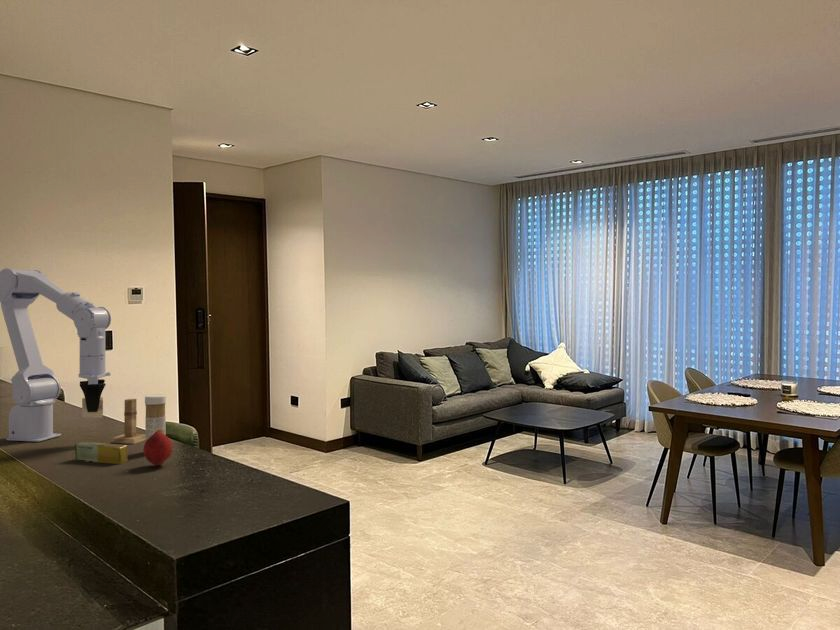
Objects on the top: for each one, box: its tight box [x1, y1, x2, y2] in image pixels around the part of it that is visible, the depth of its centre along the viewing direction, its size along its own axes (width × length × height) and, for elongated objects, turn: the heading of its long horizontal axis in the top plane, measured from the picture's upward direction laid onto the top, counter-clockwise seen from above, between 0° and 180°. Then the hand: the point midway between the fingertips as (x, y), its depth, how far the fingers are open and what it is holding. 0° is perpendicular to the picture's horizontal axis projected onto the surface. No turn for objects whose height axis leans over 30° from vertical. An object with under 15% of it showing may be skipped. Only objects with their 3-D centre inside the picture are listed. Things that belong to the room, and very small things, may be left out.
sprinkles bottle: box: [144, 393, 167, 442], centre depth 148 cm, size 5×5×14 cm
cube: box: [81, 396, 104, 420], centre depth 156 cm, size 4×4×4 cm
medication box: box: [74, 441, 129, 465], centre depth 140 cm, size 12×3×4 cm, turn 76°
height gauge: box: [111, 398, 146, 445], centre depth 160 cm, size 6×6×11 cm
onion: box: [143, 429, 174, 467], centre depth 135 cm, size 6×6×8 cm
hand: (92, 410), depth 156 cm, fingers closed on cube, 4 cm apart
